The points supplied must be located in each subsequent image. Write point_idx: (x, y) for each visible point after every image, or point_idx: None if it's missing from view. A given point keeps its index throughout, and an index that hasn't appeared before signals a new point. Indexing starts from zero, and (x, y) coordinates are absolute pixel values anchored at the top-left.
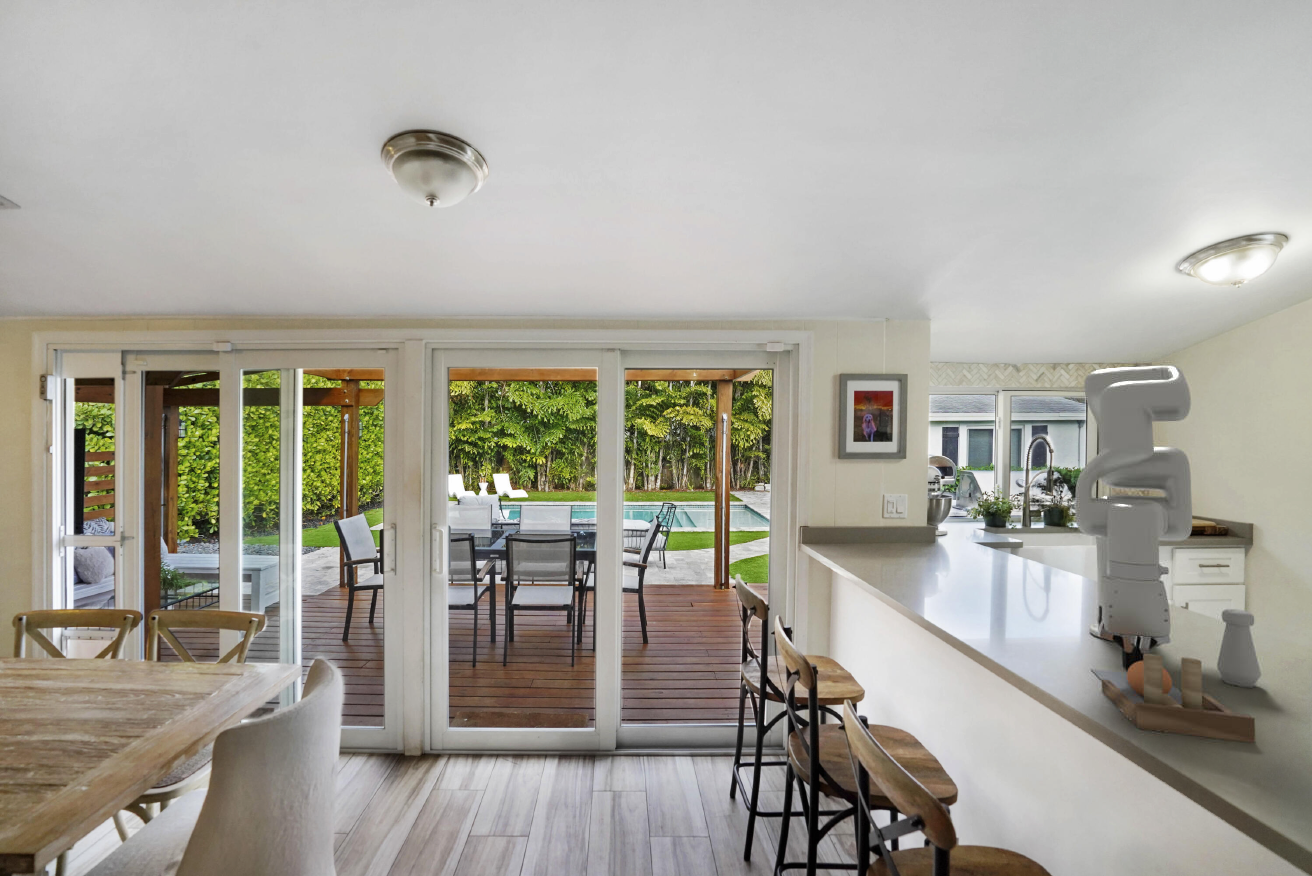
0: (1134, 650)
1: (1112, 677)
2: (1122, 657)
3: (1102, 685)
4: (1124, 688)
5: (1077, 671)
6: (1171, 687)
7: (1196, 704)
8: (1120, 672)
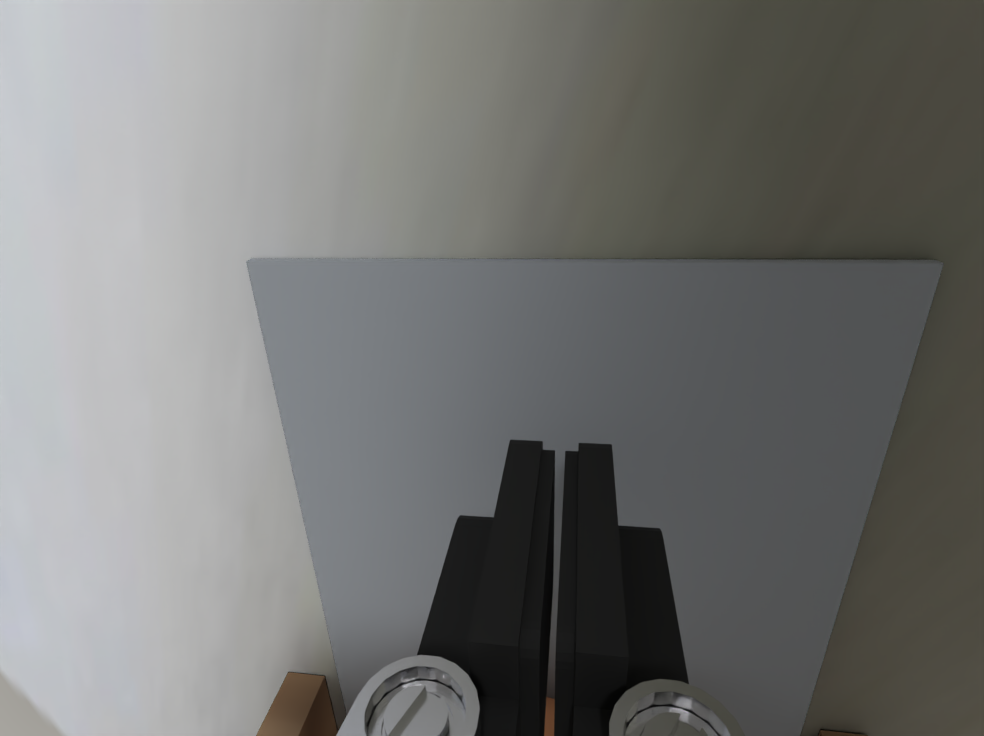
0: (572, 731)
1: (397, 451)
2: (439, 587)
3: (272, 716)
4: None
5: (144, 329)
6: (816, 567)
7: None
8: (514, 274)
